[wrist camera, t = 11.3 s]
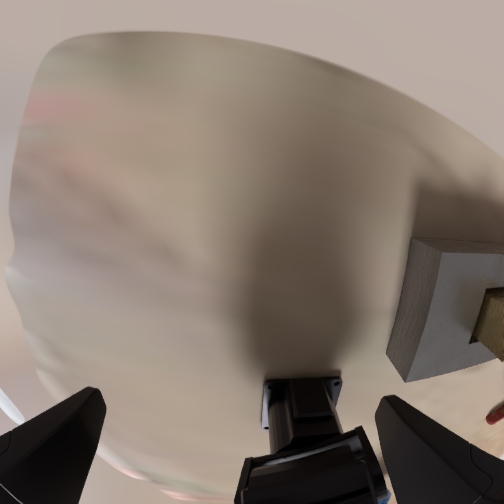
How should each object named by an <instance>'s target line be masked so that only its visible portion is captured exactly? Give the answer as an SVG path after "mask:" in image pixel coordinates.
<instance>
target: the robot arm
mask: <svg viewBox="0 0 504 504" xmlns="http://www.w3.org/2000/svg"><path fill="white" fill-rule="evenodd" d="M337 381H338V382H337ZM335 382H337V383H335ZM269 385H272V386H269ZM341 387H342V379H341V377H339V376H335V377H322V378H304V379H270V380H267V381H265V383H264V393H263V407H262V420H261V429H262V430H263V431H269V439H270V453H271V454H270V455H265V456H260V457H255V458H253V457H249V458H245V461H244V465H243V468H242V472H241V476H240V479H239V483H238V487H237V491H236V495H235V499H234V504H378V501H380V500H382V499H385V498H387V497H388V492H387V488H386V484H385V480H384V477H383V473H382V470H381V467H380V465H379V462H378V460H377V457H376V455H375V453H374V451H373V448H372V446H371V444H370V442H369V440H368V438H367V435H366V433H365V431H364V429H363V427H362V425H361V426H359V427H356V428H355V429H354V430H351V431H348V432H346V433H343V430H342V427H341V424H340V421H339V418H338V415H337V412H336V409H335V407H336V404H337V401H338V397H339V394H340V390H341ZM105 415H106V404H105V402H104V399H103V396H102V394H101V391H100V390H99V389H98V388H94V387H86V388H84V389H82V390H81V391H79V392H77V393H76V394H74V395H72V396H71V397H69V398H67V399H65V400H64V401H62V402H60V403H58V404H57V405H55V406H53V407H52V408H50V409H48V410H46V411H45V412H43V413H41V414H39V415H38V416H36V417H34V418H32V419H31V420H29V421H27V422H25V423H23V424H21V425H20V426H18V427H16V428H14V429H13V430H12V431H9V432H7V433H5V434H3V435H1V436H0V504H78V503H79V500H80V497H81V494H82V491H83V488H84V485H85V481H86V479H87V476H88V473H89V470H90V467H91V464H92V461H93V459H94V456H95V453H96V450H97V447H98V443H99V439H100V435H101V431H102V427H103V423H104V419H105ZM375 421H376V426H377V431H378V435H379V440H380V445H381V450H382V455H383V458H384V462H385V465H386V468H387V471H388V474H389V477H390V480H391V484H392V487H393V490H394V494H395V497H396V500H397V504H504V460H501V459H499V458H497V457H495V456H493V455H491V454H489V453H487V452H485V451H483V450H481V449H480V448H478V447H476V446H475V445H473V444H470V443H469V442H468V441H466V440H465V439H463V438H461V437H460V436H458V435H456V434H455V433H453V432H452V431H450V430H448V429H447V428H445V427H444V426H442V425H441V424H439V423H437V422H436V421H434V420H433V419H431V418H430V417H428V416H426V415H425V414H423V413H422V412H420V411H419V410H417V409H416V408H414V407H413V406H411V405H410V404H408V403H407V402H405V401H404V400H402V399H401V398H399V397H398V396H396V395H388V396H384V397H382V399H381V401H380V403H379V406H378V408H377V410H376V413H375Z"/></svg>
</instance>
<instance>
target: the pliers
mask: <svg viewBox="0 0 504 504" xmlns="http://www.w3.org/2000/svg"><path fill="white" fill-rule="evenodd" d="M503 418H504V405H503V406H502V407H501V408H500V409H498V410H496V411H495V412H493V413H491V414H490V415H488V416H487V417H486V421H487V423H488V424H490V425H493V424H495V423H496V422H498V421H500V420H501V419H503Z"/></svg>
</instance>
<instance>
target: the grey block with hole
mask: <svg viewBox="0 0 504 504" xmlns="http://www.w3.org/2000/svg"><path fill="white" fill-rule="evenodd" d="M495 287H503V288H504V244H502V243H489V242H475V241H460V240H444V239H427V238H411V243H410V250H409V256H408V262H407V268H406V273H405V279H404V284H403V289H402V294H401V298H400V303H399V307H398V311H397V315H396V320H395V324H394V327H393V331H392V335H391V338H390V342H389V346H388V349H387V352H386V355H387V356H388V358H389V359H390V361H391V362H392V364H393V365H394V367H395V368H396V370H397V371H398V373H399V374H400V376H401V377H402V379H403V380H404V382H405V383H407V382H412V381H416V380H421V379H426V378H430V377H434V376H438V375H442V374H446V373H450V372H454V371H458V370H461V369H465V368H468V367H471V366H475V365H478V364H481V363H484V362H487V361H490V360H493V359H496V358H497V357H496V356H495V355H494V354H493V353H492V352H491V351H490V350H489V349H488V348H486V347H485V346H484V345H483V344H482V343H481V342H480V341H479V340H477V339H476V338H475V337H474V336H473V335H472V332H473V329H474V326H475V324H476V321H477V317H478V314H479V311H480V308H481V305H482V301H483V298H484V294H485V290H486V288H495Z"/></svg>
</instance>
